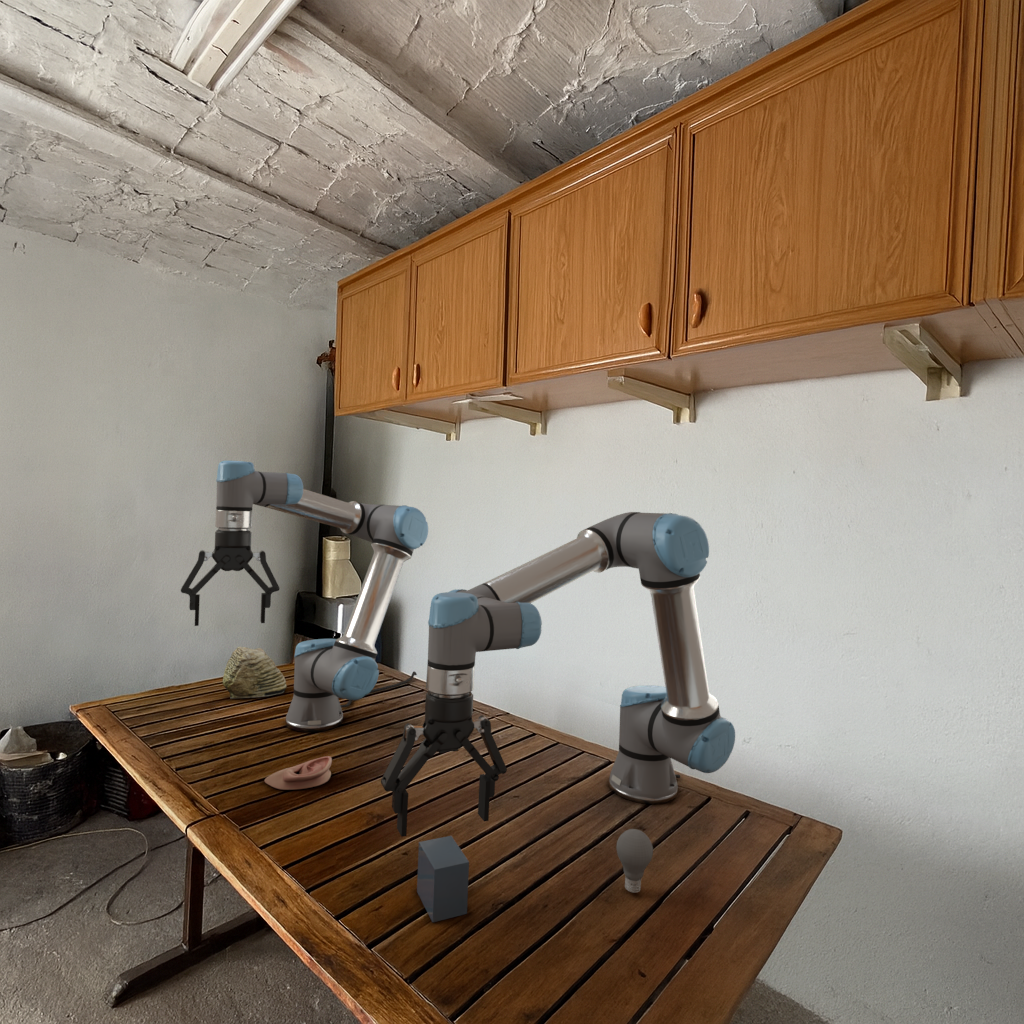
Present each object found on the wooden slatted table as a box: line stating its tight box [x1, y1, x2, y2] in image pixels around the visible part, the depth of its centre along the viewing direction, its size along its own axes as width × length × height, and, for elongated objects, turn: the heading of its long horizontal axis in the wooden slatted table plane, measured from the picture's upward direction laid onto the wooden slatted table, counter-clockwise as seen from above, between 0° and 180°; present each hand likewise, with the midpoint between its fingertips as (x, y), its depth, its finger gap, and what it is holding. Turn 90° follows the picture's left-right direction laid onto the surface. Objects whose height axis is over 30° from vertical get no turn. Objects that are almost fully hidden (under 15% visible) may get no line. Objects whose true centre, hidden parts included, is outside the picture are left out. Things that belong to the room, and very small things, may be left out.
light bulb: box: [615, 828, 654, 894], centre depth 106 cm, size 6×6×10 cm
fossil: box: [222, 646, 288, 699], centre depth 198 cm, size 9×18×15 cm, turn 132°
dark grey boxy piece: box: [416, 835, 470, 923], centre depth 101 cm, size 8×6×8 cm
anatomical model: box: [264, 755, 333, 791], centre depth 141 cm, size 13×4×12 cm
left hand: (230, 623), depth 143 cm, fingers open, 13 cm apart
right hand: (443, 824), depth 100 cm, fingers open, 13 cm apart
